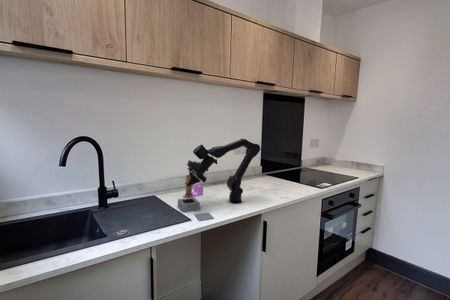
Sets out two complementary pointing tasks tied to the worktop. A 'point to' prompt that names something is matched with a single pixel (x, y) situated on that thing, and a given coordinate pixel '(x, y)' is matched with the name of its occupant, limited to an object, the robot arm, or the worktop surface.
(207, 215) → the rubber mat
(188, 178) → the walnut peg
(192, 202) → the grey socket block
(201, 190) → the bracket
